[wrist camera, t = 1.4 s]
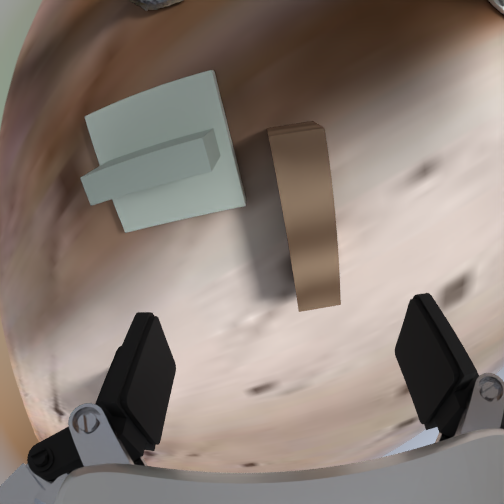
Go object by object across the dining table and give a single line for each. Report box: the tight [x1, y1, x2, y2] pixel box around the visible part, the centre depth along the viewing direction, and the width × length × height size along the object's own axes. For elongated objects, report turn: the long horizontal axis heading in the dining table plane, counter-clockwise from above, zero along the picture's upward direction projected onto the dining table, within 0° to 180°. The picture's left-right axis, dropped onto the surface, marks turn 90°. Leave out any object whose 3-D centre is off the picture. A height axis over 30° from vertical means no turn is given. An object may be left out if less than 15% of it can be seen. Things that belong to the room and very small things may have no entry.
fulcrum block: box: [81, 70, 246, 233], centre depth 22 cm, size 12×12×6 cm
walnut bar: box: [267, 121, 341, 312], centre depth 26 cm, size 16×4×5 cm, turn 12°
